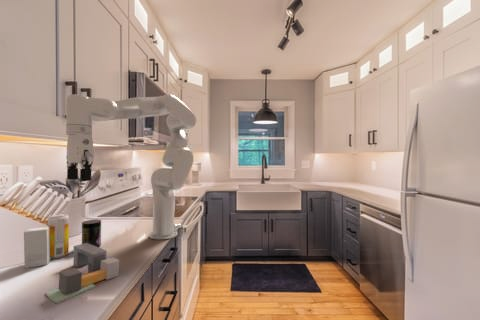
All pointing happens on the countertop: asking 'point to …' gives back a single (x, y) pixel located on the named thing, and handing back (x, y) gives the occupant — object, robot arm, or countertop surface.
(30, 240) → the skincare box
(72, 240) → the countertop surface
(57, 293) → the mat
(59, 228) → the beer can
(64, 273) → the plug
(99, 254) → the block
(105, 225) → the countertop surface
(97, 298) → the countertop surface
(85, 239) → the supplement container
